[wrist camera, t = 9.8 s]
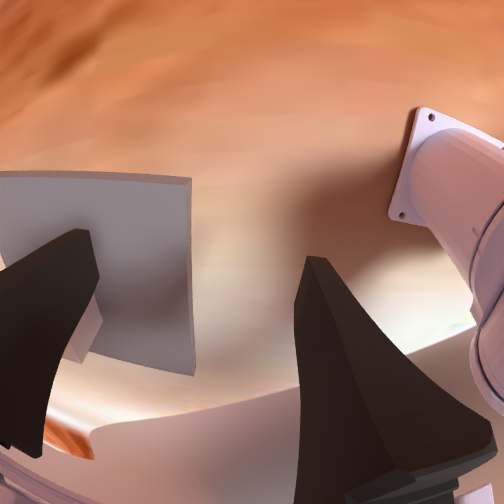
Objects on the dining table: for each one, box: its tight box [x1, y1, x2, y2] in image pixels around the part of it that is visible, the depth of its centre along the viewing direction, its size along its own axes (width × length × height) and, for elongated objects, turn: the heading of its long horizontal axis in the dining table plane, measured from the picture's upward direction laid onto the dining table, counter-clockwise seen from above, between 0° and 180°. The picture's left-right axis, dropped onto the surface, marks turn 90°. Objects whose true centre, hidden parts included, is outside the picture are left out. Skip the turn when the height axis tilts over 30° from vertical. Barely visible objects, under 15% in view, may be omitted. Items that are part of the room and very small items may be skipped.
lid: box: [0, 171, 196, 376], centre depth 16 cm, size 16×16×5 cm
